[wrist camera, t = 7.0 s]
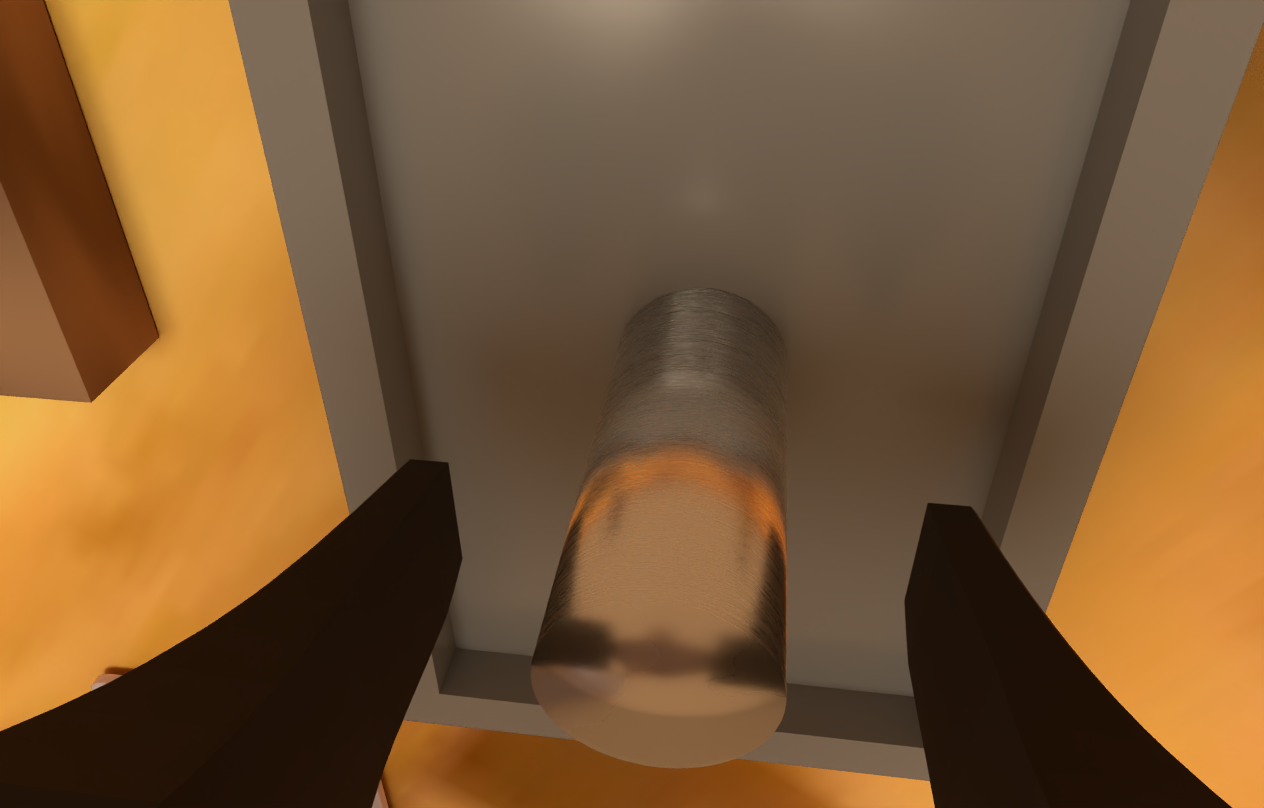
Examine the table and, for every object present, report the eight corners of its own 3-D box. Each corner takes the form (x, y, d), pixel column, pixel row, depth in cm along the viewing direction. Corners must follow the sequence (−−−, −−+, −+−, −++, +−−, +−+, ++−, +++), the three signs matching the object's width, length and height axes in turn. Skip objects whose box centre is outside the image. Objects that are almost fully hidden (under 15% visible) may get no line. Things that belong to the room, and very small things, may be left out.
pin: (785, 432, 18) (783, 777, 12) (624, 428, 19) (546, 758, 13) (790, 288, 17) (789, 610, 11) (611, 288, 17) (513, 595, 11)
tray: (967, 714, 23) (980, 786, 22) (423, 655, 25) (398, 719, 23) (1295, -280, 12) (1375, -282, 10) (238, -276, 13) (163, -278, 12)
